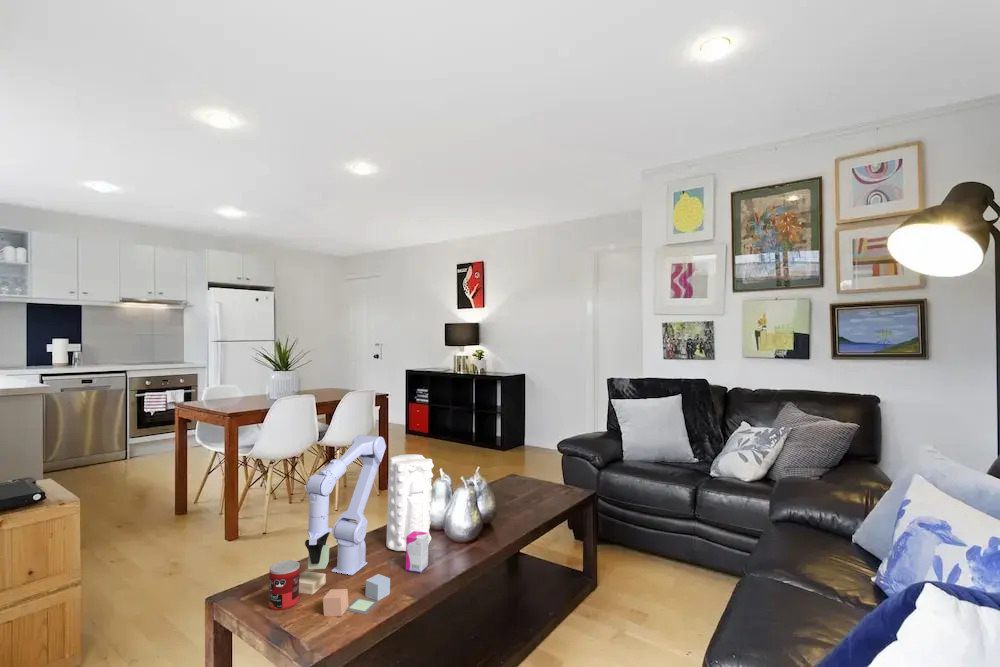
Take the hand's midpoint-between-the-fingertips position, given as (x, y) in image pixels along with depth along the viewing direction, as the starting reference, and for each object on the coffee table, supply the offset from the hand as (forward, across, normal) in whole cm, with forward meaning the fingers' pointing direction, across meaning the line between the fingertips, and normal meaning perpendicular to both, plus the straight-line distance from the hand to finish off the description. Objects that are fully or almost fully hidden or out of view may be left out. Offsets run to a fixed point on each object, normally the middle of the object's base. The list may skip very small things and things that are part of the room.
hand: (317, 559), depth 154 cm
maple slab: (+9, +1, +2) cm, 10 cm away
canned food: (+9, -8, +7) cm, 14 cm away
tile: (+9, -12, -15) cm, 21 cm away
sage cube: (+2, 0, 0) cm, 2 cm away
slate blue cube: (+9, -6, -19) cm, 22 cm away
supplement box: (+9, +11, -30) cm, 33 cm away
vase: (+9, +32, -26) cm, 42 cm away
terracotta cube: (+9, -14, -8) cm, 18 cm away
